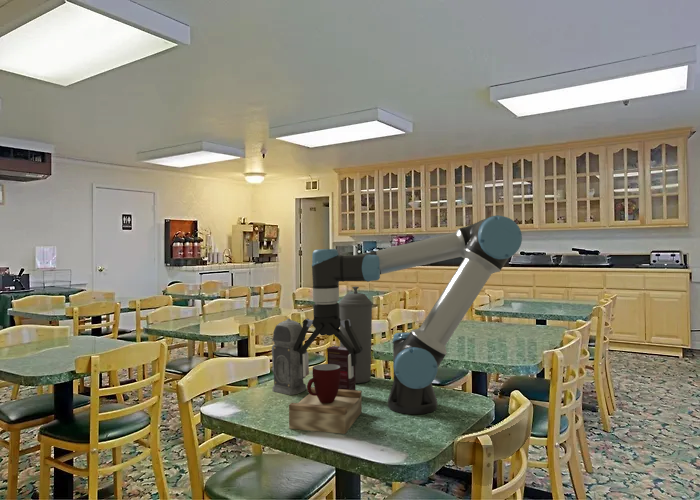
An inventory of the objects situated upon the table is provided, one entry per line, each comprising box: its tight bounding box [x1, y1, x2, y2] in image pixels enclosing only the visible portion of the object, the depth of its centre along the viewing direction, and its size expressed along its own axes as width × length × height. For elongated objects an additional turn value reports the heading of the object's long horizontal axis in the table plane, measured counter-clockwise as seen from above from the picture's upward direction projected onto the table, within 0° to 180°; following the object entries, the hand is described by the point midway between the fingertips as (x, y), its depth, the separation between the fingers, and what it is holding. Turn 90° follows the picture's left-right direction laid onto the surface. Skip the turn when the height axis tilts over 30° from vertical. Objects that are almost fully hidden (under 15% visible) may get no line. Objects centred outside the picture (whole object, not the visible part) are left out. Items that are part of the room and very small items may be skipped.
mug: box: [306, 363, 340, 403], centre depth 145 cm, size 11×8×10 cm
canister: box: [338, 286, 373, 384], centre depth 188 cm, size 13×13×35 cm
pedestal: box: [288, 386, 363, 435], centre depth 145 cm, size 16×18×6 cm
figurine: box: [271, 318, 308, 396], centre depth 176 cm, size 10×14×25 cm
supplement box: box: [326, 345, 357, 390], centre depth 170 cm, size 9×5×16 cm, turn 60°
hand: (328, 376), depth 145 cm, fingers open, 13 cm apart
